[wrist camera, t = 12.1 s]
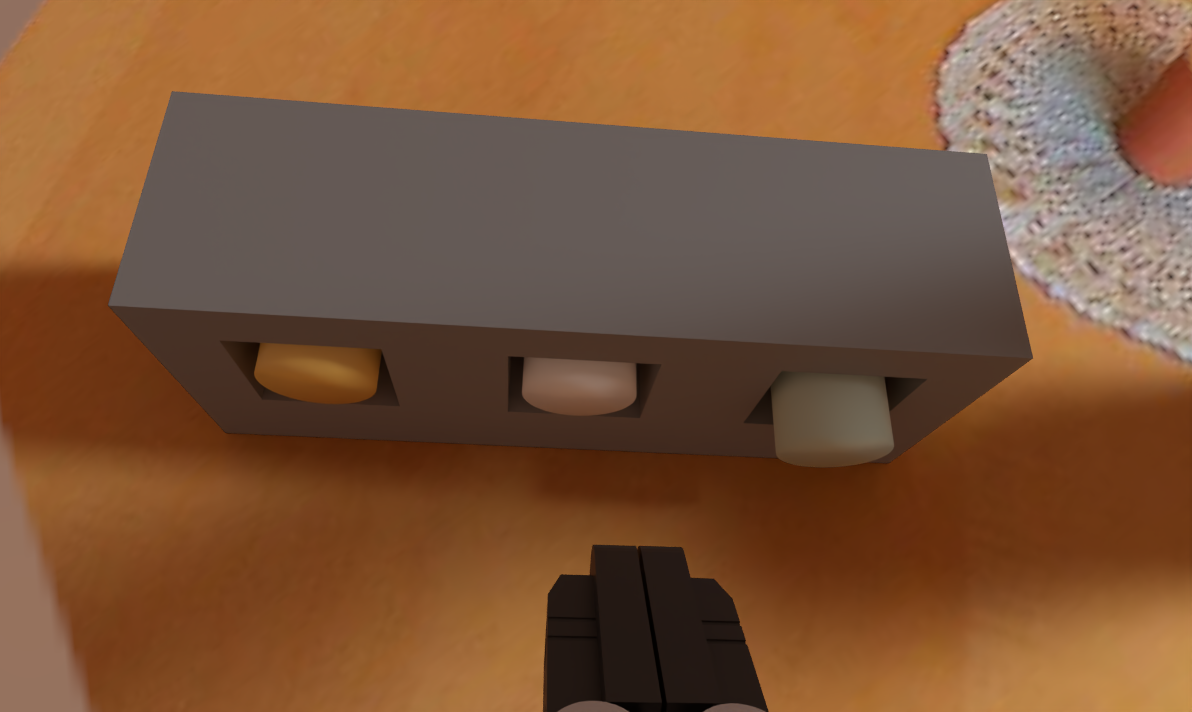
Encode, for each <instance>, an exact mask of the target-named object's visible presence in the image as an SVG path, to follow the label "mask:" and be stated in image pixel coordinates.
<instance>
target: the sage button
mask: <svg viewBox="0 0 1192 712" xmlns="http://www.w3.org/2000/svg"><path fill="white" fill-rule="evenodd" d="M771 397H772V410H773V423H774V436H775V448H776V455H777V457H778V458H779V459H780V460H782V461H784V462H786V463H789V464H793V465H798V466H804V467H819V468H827V467H843V466H851V465H857V464H862V463H866V462H870V461H873V460H876V459H879V458H881V457H883V456H885V455H887V454H889V453H890V452H891V451H892V450H893V448H894V441H893V434H892V427H891V420H890V413H889V406H888V399H887V391H886V384H885V377H882V376H864V375H845V374H827V373H808V372H790V371H781V373H780V374H779V375H778V377H777V378H776V379H775V381H774V382H773V383H772V385H771Z"/></svg>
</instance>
